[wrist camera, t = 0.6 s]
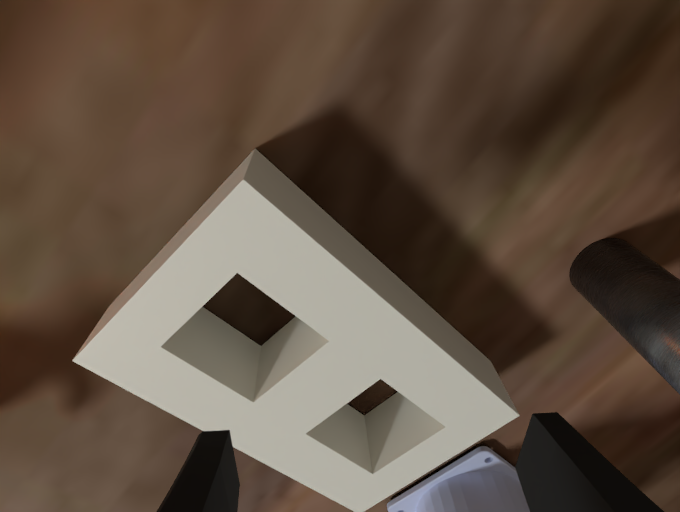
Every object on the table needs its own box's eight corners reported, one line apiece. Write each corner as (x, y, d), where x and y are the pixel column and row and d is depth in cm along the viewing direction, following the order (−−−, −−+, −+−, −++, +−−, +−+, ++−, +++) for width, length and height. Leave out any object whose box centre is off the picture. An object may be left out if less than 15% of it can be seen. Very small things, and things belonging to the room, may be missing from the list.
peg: (644, 265, 20) (859, 425, 12) (588, 303, 21) (755, 475, 13) (616, 225, 19) (835, 374, 11) (557, 268, 20) (721, 432, 12)
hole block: (490, 361, 22) (519, 415, 19) (353, 454, 25) (359, 514, 22) (255, 148, 16) (243, 179, 13) (109, 305, 19) (71, 360, 16)
